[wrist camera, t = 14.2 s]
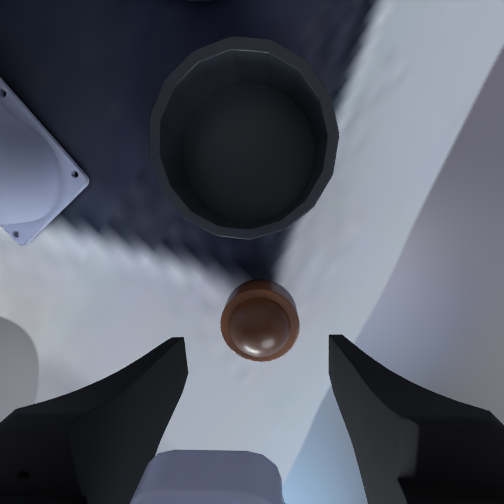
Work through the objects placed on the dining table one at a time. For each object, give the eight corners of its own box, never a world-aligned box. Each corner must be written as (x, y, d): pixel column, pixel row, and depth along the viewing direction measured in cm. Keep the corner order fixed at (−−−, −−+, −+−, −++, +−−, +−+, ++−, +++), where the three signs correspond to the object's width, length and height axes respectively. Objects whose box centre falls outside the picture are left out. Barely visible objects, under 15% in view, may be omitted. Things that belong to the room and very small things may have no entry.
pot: (148, 146, 19) (111, 132, 15) (259, 39, 17) (255, -13, 13) (239, 255, 21) (230, 272, 16) (351, 166, 19) (376, 158, 14)
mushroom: (217, 294, 21) (197, 332, 16) (266, 256, 21) (265, 282, 15) (257, 340, 22) (252, 393, 16) (306, 305, 21) (320, 348, 15)
